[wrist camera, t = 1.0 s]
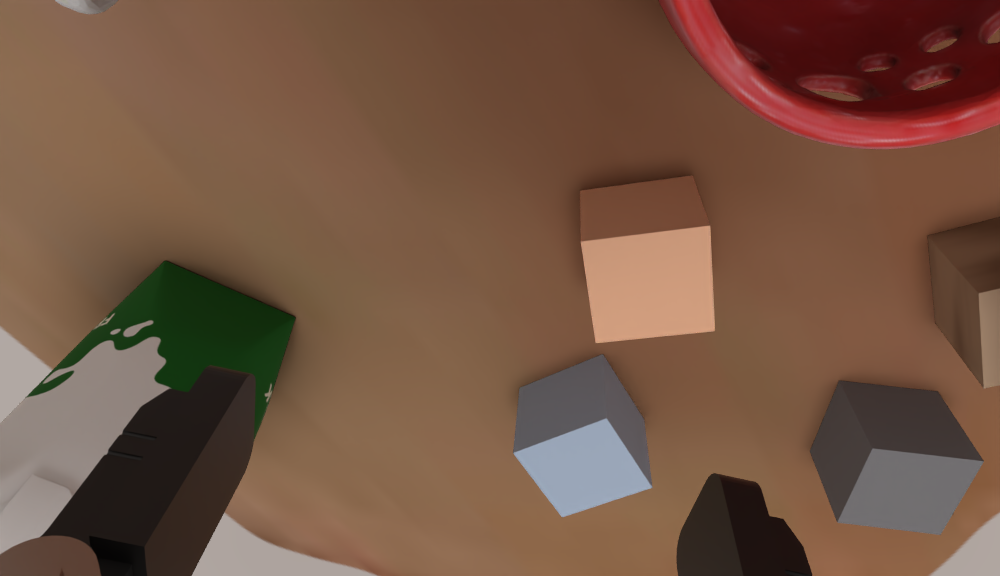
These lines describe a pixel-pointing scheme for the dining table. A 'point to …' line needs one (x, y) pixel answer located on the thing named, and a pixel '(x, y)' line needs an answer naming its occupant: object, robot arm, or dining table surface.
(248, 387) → the robot arm
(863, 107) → the plant pot
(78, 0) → the teacup
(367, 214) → the dining table surface
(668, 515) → the dining table surface
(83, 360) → the milk carton
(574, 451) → the slate blue cube
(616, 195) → the terracotta cube
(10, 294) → the dining table surface
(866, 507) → the charcoal cube
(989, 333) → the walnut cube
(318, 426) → the dining table surface
